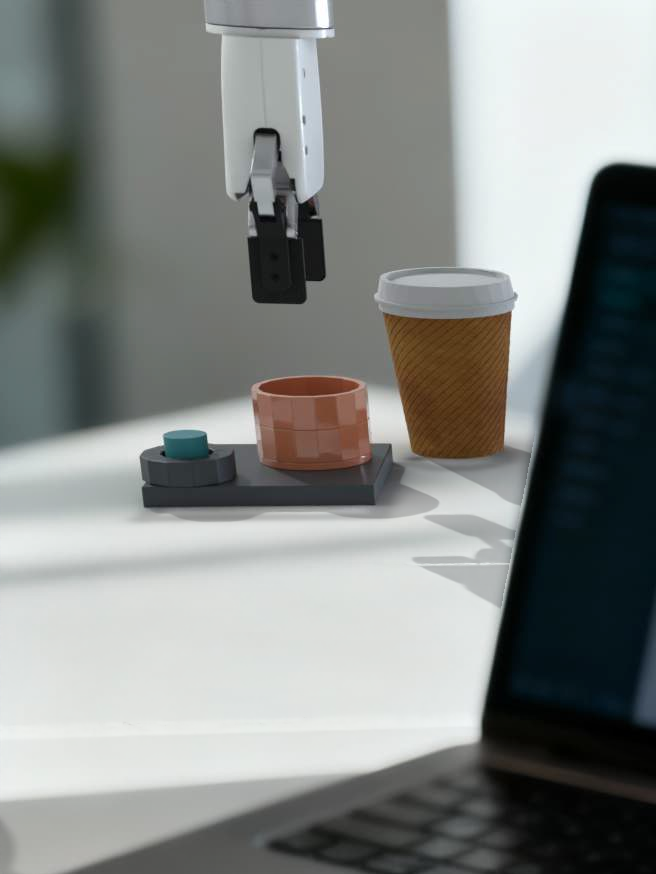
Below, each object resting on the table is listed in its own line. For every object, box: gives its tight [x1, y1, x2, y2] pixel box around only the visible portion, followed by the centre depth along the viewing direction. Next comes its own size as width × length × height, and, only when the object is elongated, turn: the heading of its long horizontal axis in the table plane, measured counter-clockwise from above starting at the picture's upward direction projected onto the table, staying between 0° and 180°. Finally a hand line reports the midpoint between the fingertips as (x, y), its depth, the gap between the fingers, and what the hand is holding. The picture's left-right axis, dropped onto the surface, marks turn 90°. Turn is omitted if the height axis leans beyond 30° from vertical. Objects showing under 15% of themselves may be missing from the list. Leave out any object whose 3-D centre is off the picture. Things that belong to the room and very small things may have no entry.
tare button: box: [162, 429, 209, 458], centre depth 151 cm, size 3×3×2 cm
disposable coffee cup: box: [373, 266, 519, 460], centre depth 165 cm, size 10×10×12 cm
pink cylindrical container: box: [250, 375, 373, 471], centre depth 157 cm, size 7×7×5 cm
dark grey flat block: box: [138, 442, 394, 508], centre depth 156 cm, size 14×12×3 cm
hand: (290, 291), depth 153 cm, fingers open, 9 cm apart
